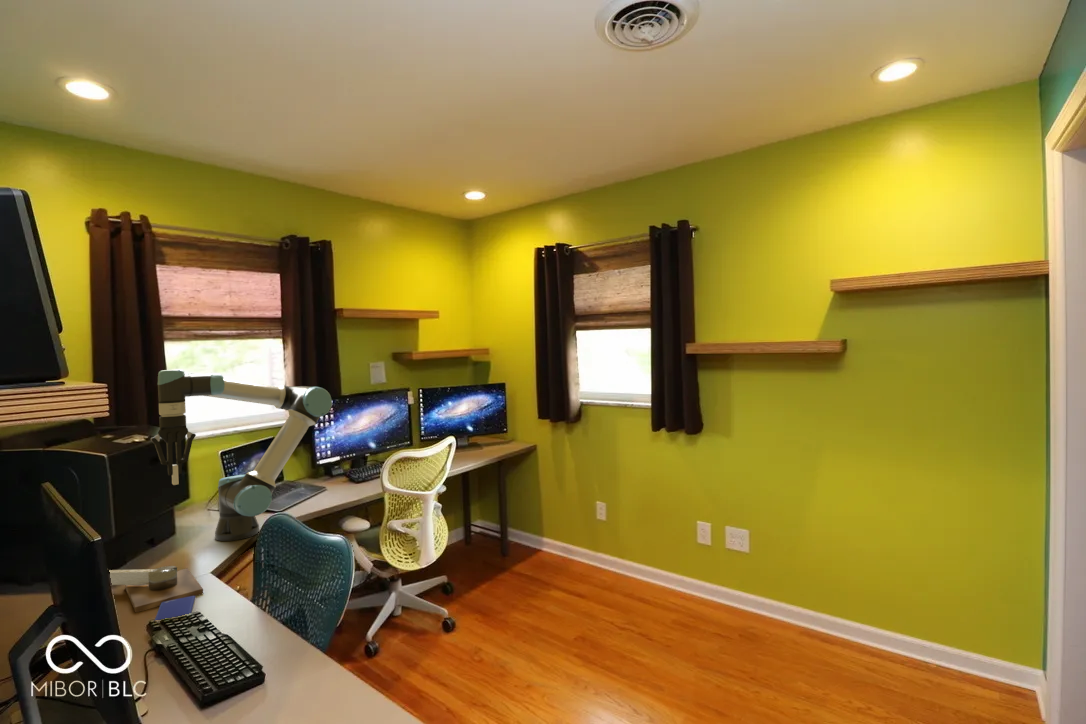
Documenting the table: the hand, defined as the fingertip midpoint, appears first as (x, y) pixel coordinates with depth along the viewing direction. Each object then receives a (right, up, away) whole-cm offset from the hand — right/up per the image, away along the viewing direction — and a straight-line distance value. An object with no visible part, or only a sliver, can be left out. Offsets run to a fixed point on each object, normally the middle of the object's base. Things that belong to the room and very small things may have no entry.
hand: (175, 483), depth 186 cm
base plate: (+13, -27, -24) cm, 38 cm away
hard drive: (+25, -27, -37) cm, 52 cm away
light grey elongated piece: (+4, -25, -24) cm, 35 cm away
